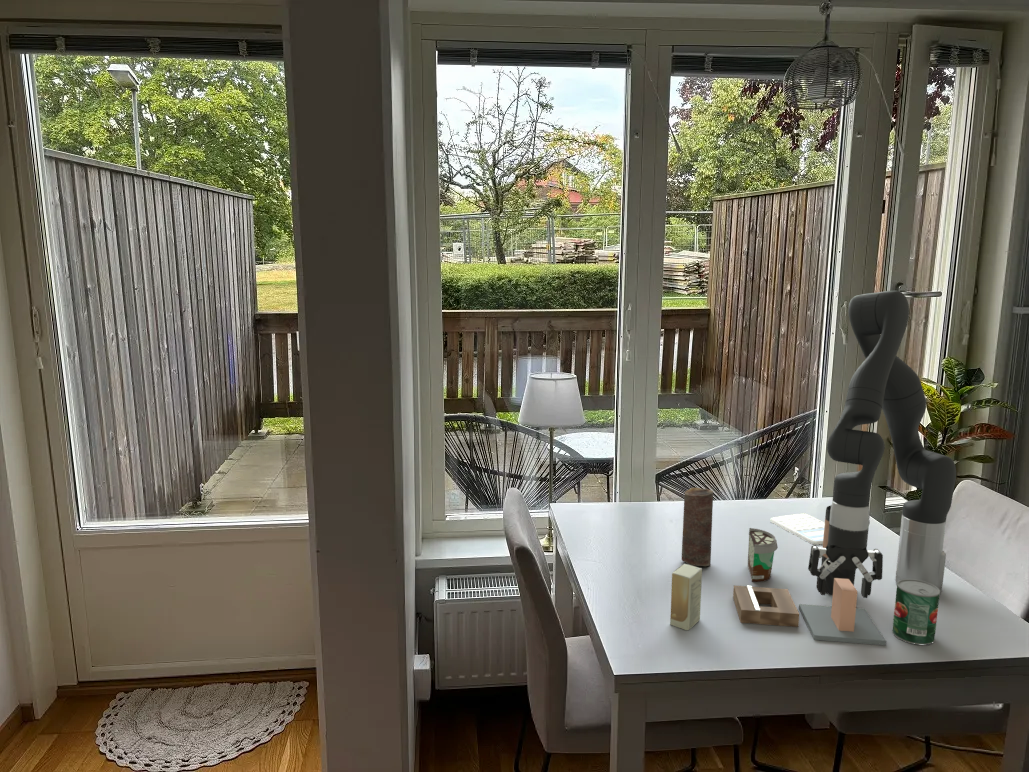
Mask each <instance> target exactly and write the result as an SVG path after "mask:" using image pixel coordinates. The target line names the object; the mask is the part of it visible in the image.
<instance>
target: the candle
mask: <svg viewBox="0 0 1029 772" xmlns="http://www.w3.org/2000/svg"><path fill="white" fill-rule="evenodd" d="M713 504H714V491H713V490H712V489H709V488H700V487H691V488H689V489H686V491H685V492H684V497H683V516H682V517H683V518H682V519H683V520H682V536H681V539H682V541H681V561H682V562H684V563H685V564H688V565H691V566H695V567H708V566H711V563H712V562H711V560H712V536H713V535H712V534H713V533H712V532H713V530H712V528H713V506H714V505H713Z"/></svg>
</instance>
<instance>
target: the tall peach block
mask: <svg viewBox="0 0 1029 772" xmlns="http://www.w3.org/2000/svg"><path fill="white" fill-rule="evenodd" d="M831 598H832V601H831V606H832V610H831V618H832V619H833V621H834V623H835V625H836V626H837V628H838V630H839V631H853V632H854V625H855V614H856V608H857V603H858V590H857V588H856V587H855V585H854V586H853V584H852V583H851V581H850V580H849V579H841V578H834V586H833V595H832V597H831Z"/></svg>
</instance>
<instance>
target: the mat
mask: <svg viewBox="0 0 1029 772" xmlns="http://www.w3.org/2000/svg"><path fill="white" fill-rule="evenodd" d="M831 610H832V605H831V606H830V605H819V604H807V603H806V604H803V603H799V604H798V611H799V612H800V614H801V616H802V618H803V620H804V622H805V624H806V626H807V628H808V631H809V632H810V635H811V637H812V639H813V640H814V641H826V642H827V641H828V642H839V643H853V644H862V645H863V644H864V645H865V644H866V645H876V646H877V645H878V646H886V644H887V640H886V638H885V637H884V635H883V633H881V631H880V629H879V628H878V626H877V624H876V623H875V622H874V621H873V619H872V617H871V616H870V615H869V612H868V611H867V610H866V609H865V608H862V607H861V608H859V607H856V614H855V625H854V632H853V631H839V630H838V628H837V626H836V625H835V623H834V621H833V619H832V618H831Z"/></svg>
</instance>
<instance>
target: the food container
mask: <svg viewBox="0 0 1029 772" xmlns="http://www.w3.org/2000/svg"><path fill="white" fill-rule="evenodd" d="M748 529H749V531H748V552H747V553H748V554H747V570H748V573H749V577H750V579H751V582H752V583H760V582H766V581H768V580H770V579H771V577H772V571H773V570H772V569H773V563H774V557H775V551H777V550H778V542H777V539H776V536H775V535H774V534H773V533H771V532H770V531H766V530H763V529H758V528H755V527H754V528H752V527H749V528H748Z"/></svg>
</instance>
